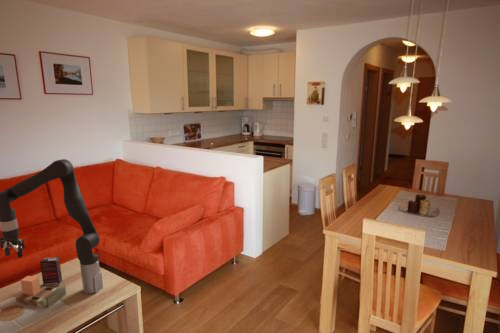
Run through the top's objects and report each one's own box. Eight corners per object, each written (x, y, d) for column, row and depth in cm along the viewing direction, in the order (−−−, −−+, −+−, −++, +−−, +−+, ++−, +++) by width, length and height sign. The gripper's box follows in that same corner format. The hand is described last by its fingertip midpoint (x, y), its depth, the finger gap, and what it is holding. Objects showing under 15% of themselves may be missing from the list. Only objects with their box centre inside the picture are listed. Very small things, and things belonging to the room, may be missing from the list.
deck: (66, 294, 177) (65, 284, 176) (48, 307, 166) (47, 297, 164) (35, 289, 181) (34, 280, 180) (16, 302, 170) (14, 292, 168)
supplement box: (62, 281, 190) (59, 256, 187) (59, 285, 185) (55, 260, 182) (46, 282, 189) (43, 257, 185) (43, 287, 184) (39, 261, 181)
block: (40, 290, 175) (38, 277, 174) (33, 295, 171) (31, 281, 169) (29, 289, 177) (27, 275, 175) (22, 293, 172) (20, 280, 171)
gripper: (26, 226, 171) (30, 254, 174) (6, 224, 175) (10, 251, 178) (12, 232, 164) (17, 261, 167) (-8, 229, 168) (-3, 257, 171)
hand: (14, 256), depth 173 cm, fingers open, 8 cm apart
